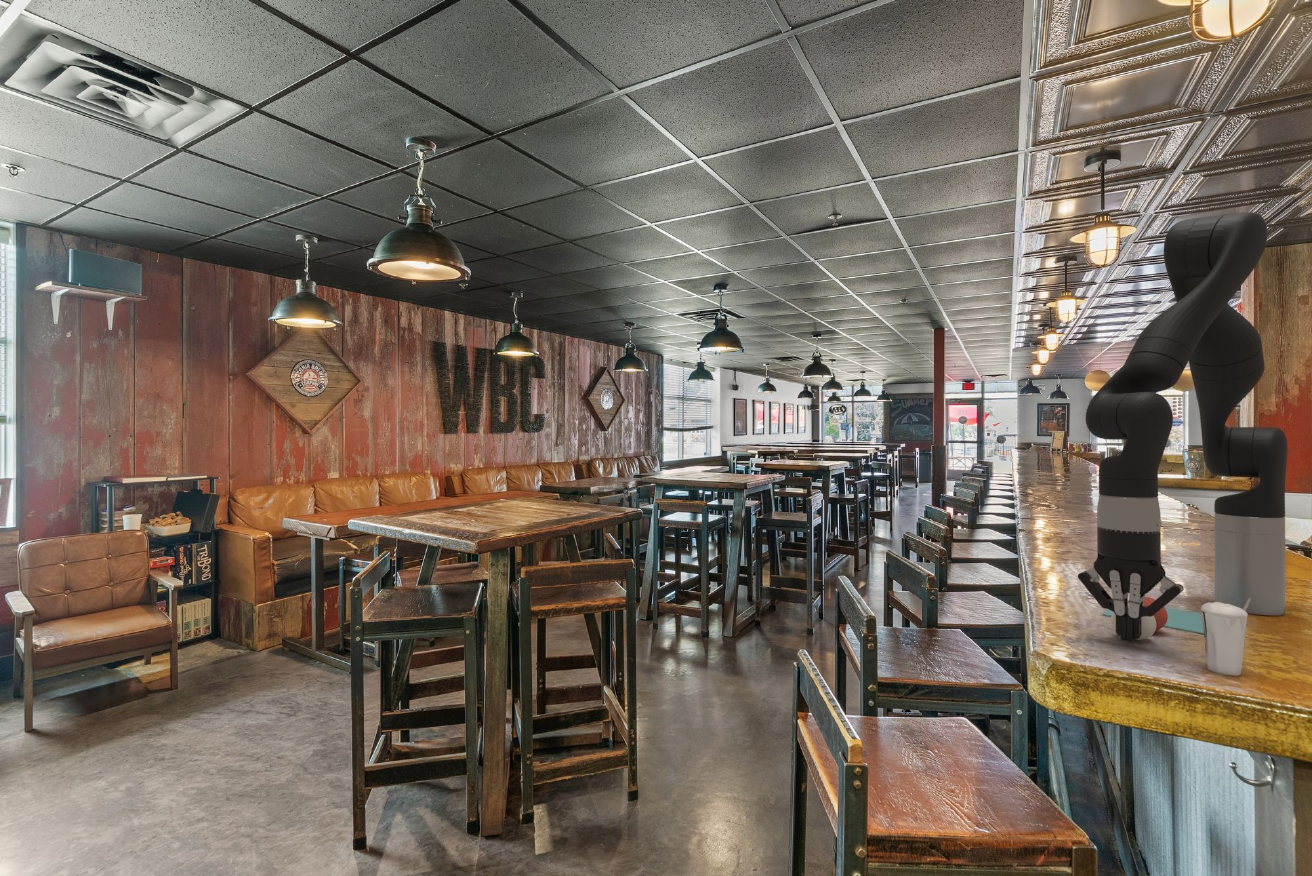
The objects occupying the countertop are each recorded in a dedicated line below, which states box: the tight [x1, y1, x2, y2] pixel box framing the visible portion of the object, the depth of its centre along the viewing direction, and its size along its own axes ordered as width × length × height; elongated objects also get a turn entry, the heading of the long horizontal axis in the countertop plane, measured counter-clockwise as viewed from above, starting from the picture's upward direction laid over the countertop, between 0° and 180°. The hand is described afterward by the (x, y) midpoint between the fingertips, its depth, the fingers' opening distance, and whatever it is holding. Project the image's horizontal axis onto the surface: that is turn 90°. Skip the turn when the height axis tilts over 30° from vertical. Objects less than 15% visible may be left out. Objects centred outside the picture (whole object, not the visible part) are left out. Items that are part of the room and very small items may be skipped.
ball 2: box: [1128, 596, 1168, 632], centre depth 97 cm, size 6×6×6 cm
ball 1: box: [1110, 603, 1156, 641], centre depth 93 cm, size 6×6×6 cm
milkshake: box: [1200, 598, 1252, 677], centre depth 80 cm, size 5×5×10 cm
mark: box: [1102, 606, 1204, 635], centre depth 105 cm, size 14×14×1 cm
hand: (1128, 639), depth 90 cm, fingers closed
